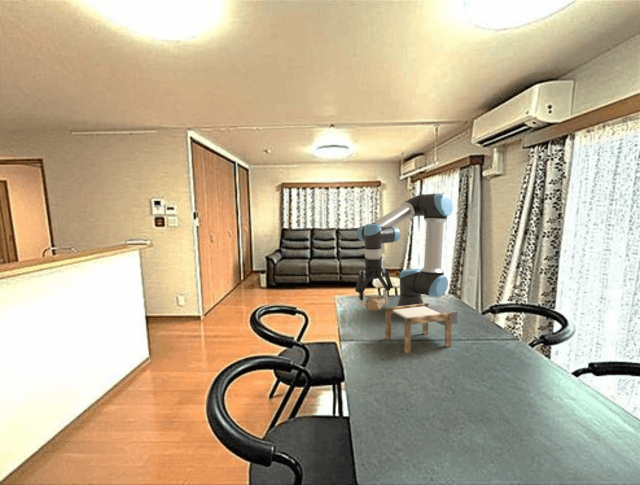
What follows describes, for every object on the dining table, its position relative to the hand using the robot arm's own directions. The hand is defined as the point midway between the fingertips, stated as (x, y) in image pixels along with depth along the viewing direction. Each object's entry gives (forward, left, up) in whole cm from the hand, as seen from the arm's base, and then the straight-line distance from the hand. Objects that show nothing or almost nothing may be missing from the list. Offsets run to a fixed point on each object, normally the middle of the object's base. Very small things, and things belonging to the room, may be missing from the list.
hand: (374, 305), depth 164 cm
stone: (0, +1, -1) cm, 2 cm away
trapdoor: (-15, +17, -5) cm, 23 cm away
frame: (-11, +17, -13) cm, 24 cm away
